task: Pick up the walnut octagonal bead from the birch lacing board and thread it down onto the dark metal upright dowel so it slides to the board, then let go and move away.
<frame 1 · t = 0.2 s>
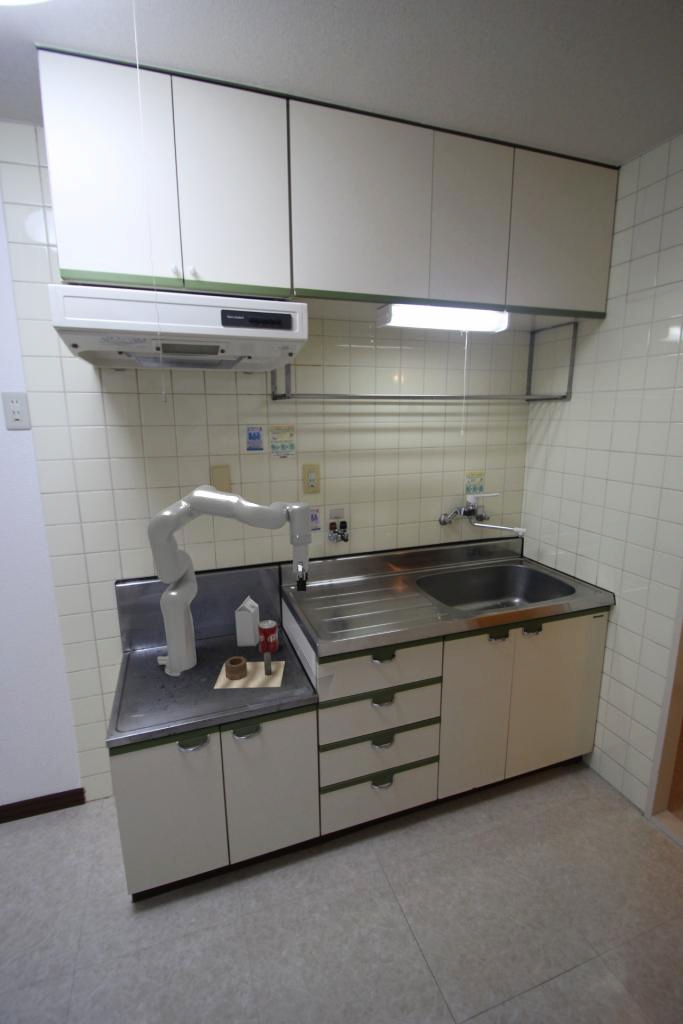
hand: (302, 585, 164), 31 cm above the worktop, tool pointing down, fingers open, 9 cm apart
bead: (236, 674, 162), point 1 cm above the worktop, touching lacing board
soda can: (269, 653, 179), on the worktop
milk carton: (249, 643, 187), on the worktop
lacing board: (251, 678, 162), on the worktop
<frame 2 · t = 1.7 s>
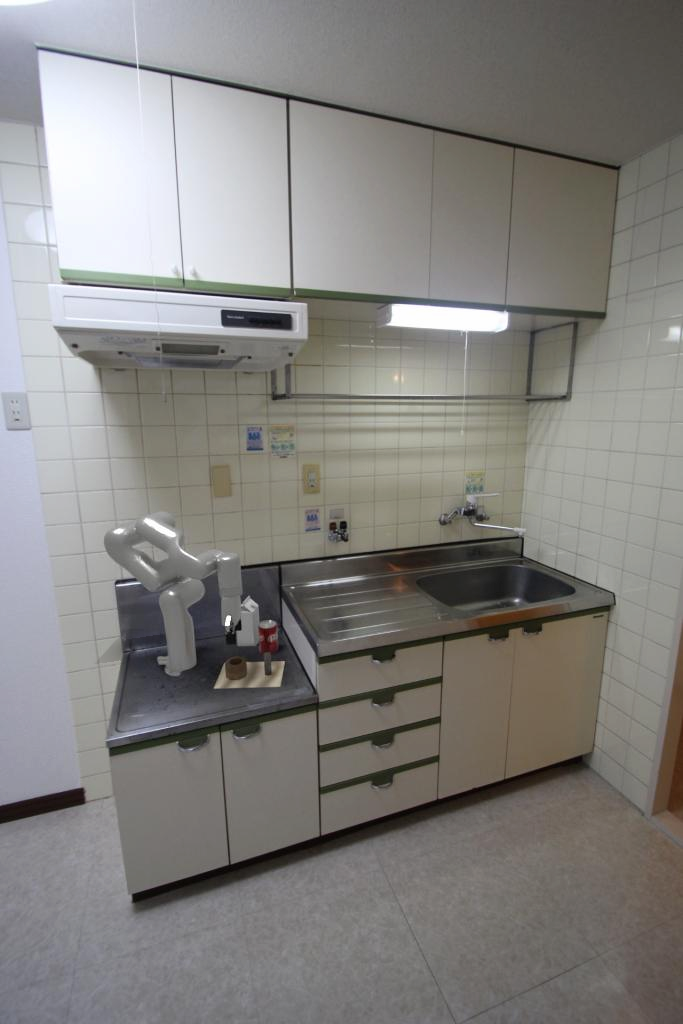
hand: (234, 637, 159), 16 cm above the worktop, tool pointing down, fingers open, 9 cm apart
nothing on the worktop moved.
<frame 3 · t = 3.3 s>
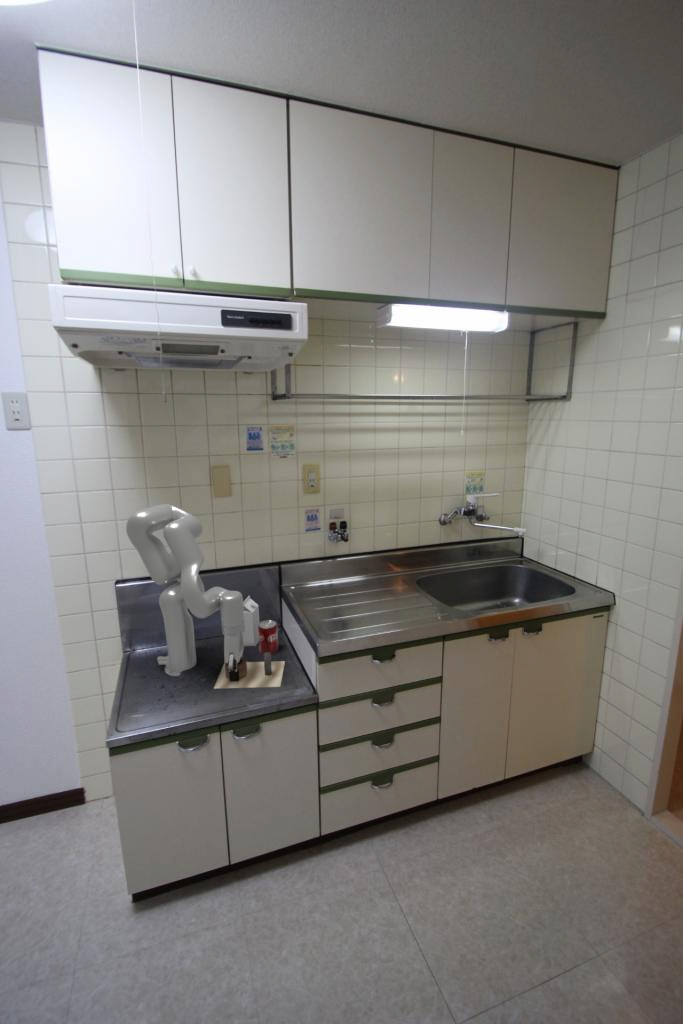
hand: (236, 674, 162), 2 cm above the worktop, tool pointing down, fingers closed on lacing board, 7 cm apart
nothing on the worktop moved.
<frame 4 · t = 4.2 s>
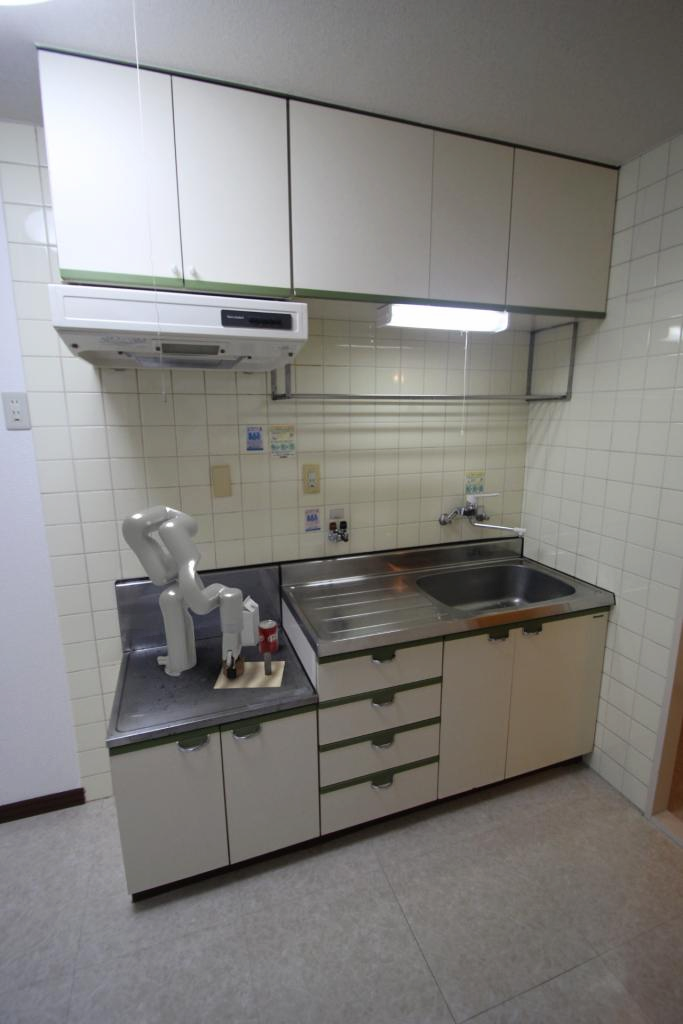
hand: (234, 671, 162), 3 cm above the worktop, tool pointing down, fingers closed on bead, 6 cm apart
bead: (233, 671, 162), point 2 cm above the worktop, touching gripper
everything else where it was.
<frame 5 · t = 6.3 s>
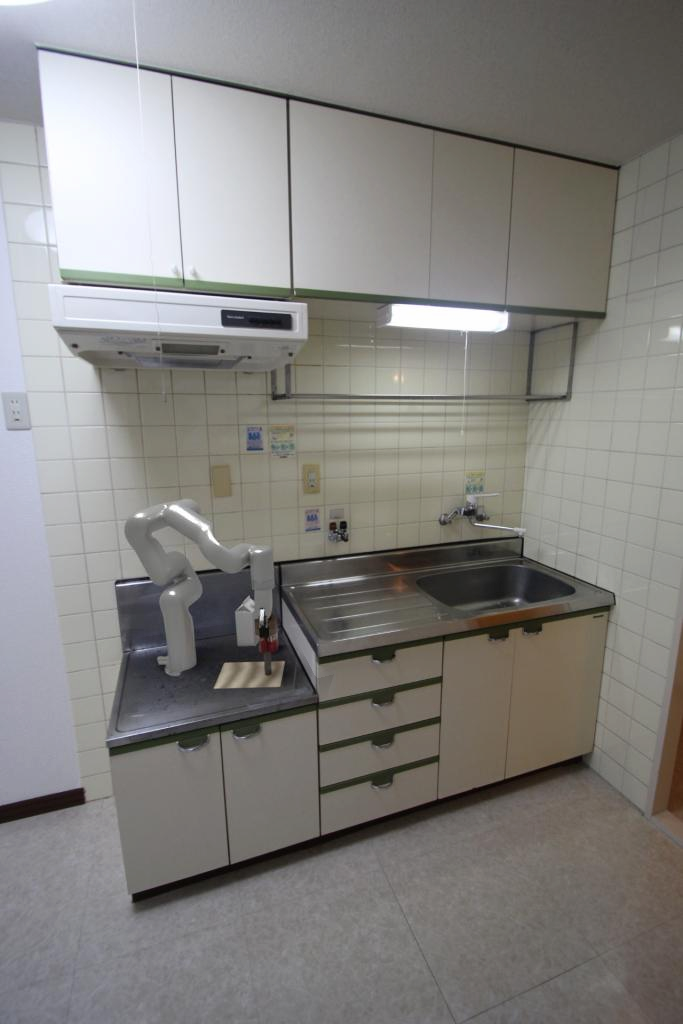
hand: (266, 631, 159), 17 cm above the worktop, tool pointing down, fingers closed on bead, 6 cm apart
bead: (266, 632, 159), point 17 cm above the worktop, touching gripper
everything else where it was.
when the fingers open (7 cm above the worktop, at t = 8.6 s): bead drops 6 cm, resting on lacing board.
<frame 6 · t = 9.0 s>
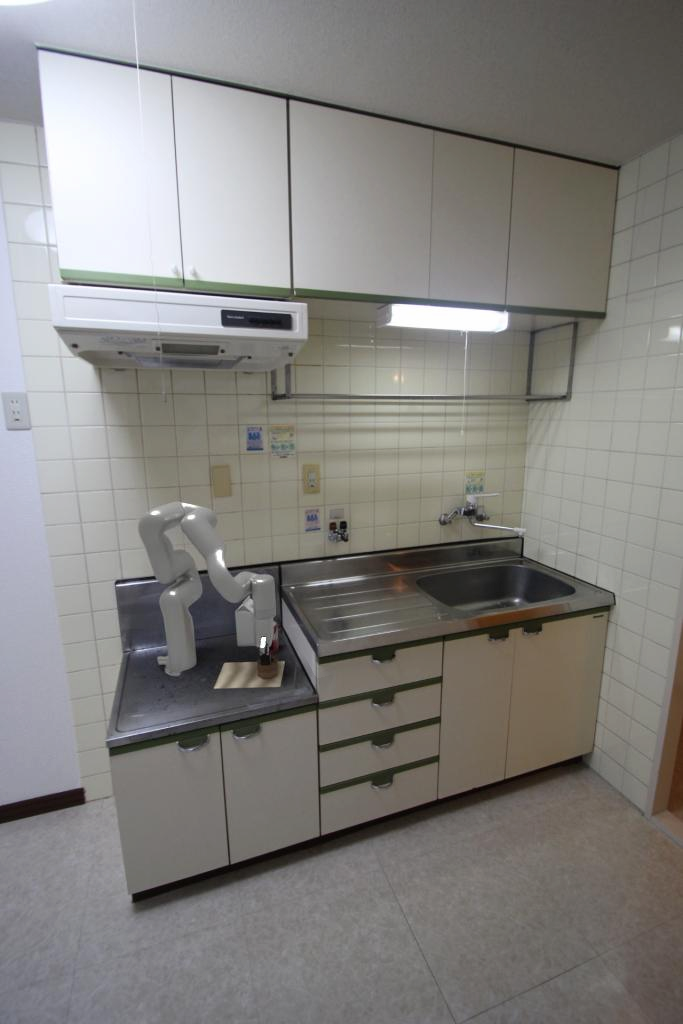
hand: (267, 657, 161), 8 cm above the worktop, tool pointing down, fingers open, 9 cm apart
bead: (268, 673, 162), point 1 cm above the worktop, touching lacing board
everything else where it was.
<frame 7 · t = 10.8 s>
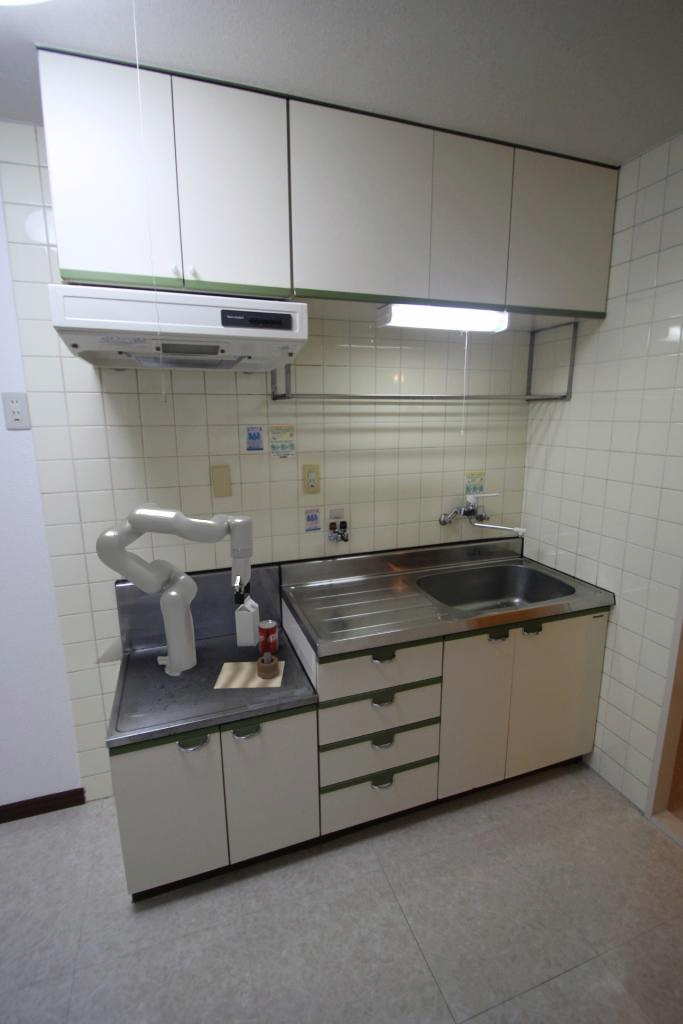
hand: (242, 598, 165), 26 cm above the worktop, tool pointing down, fingers open, 9 cm apart
nothing on the worktop moved.
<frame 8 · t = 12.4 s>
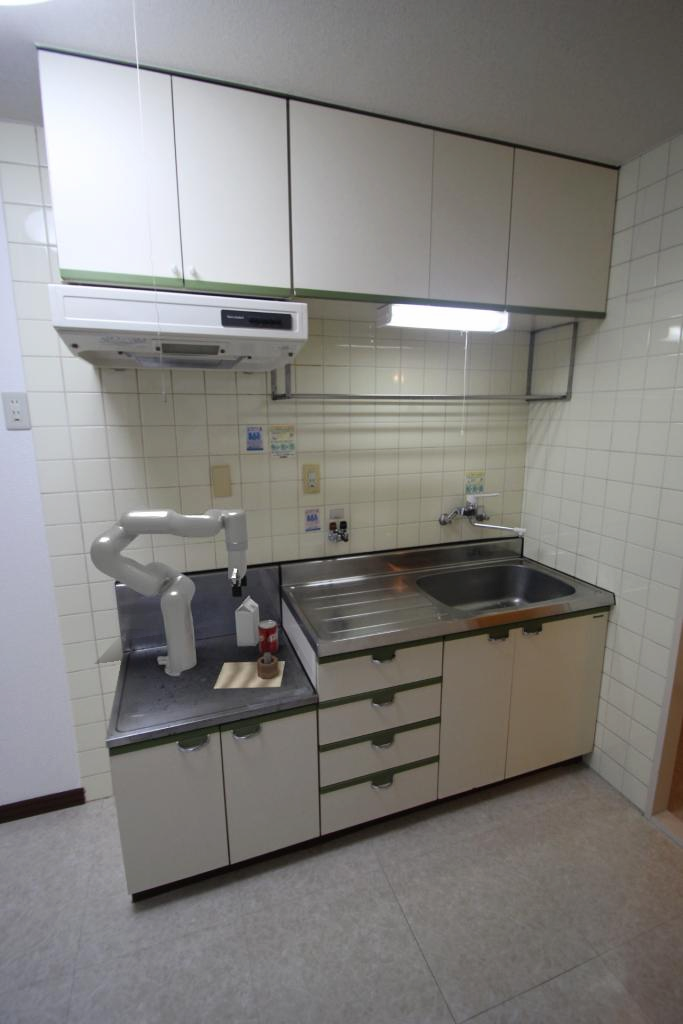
hand: (240, 591, 166), 28 cm above the worktop, tool pointing down, fingers open, 9 cm apart
nothing on the worktop moved.
at the end: bead 0.1 cm from the target spot on the lacing board, point 1.5 cm above the lacing board's base; bead tilted 0°; the gripper is holding nothing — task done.
